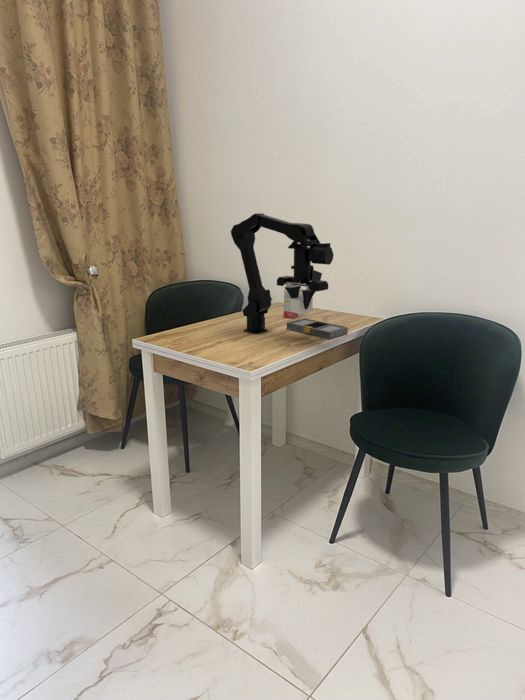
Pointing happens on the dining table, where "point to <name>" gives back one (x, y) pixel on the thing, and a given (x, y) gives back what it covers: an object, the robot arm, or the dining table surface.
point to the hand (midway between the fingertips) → (301, 308)
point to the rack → (317, 328)
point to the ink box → (287, 305)
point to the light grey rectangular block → (299, 305)
